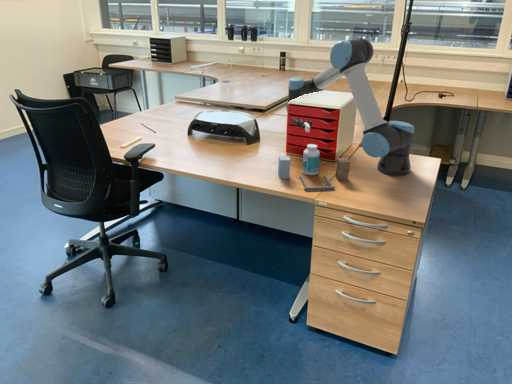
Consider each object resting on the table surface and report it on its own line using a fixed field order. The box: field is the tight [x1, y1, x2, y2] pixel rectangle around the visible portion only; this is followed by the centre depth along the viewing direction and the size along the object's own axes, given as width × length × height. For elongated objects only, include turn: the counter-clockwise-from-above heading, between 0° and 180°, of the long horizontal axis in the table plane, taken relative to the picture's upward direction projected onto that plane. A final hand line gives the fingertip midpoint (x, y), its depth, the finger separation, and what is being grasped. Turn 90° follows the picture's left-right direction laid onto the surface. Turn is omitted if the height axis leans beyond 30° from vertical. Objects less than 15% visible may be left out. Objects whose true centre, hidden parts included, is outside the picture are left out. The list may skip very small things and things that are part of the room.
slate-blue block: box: [277, 155, 292, 180], centre depth 191 cm, size 4×4×9 cm
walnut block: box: [334, 157, 351, 182], centre depth 190 cm, size 4×4×9 cm
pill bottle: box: [301, 143, 321, 177], centre depth 194 cm, size 8×7×14 cm
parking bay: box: [299, 174, 336, 192], centre depth 187 cm, size 13×13×1 cm
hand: (308, 129), depth 196 cm, fingers closed
